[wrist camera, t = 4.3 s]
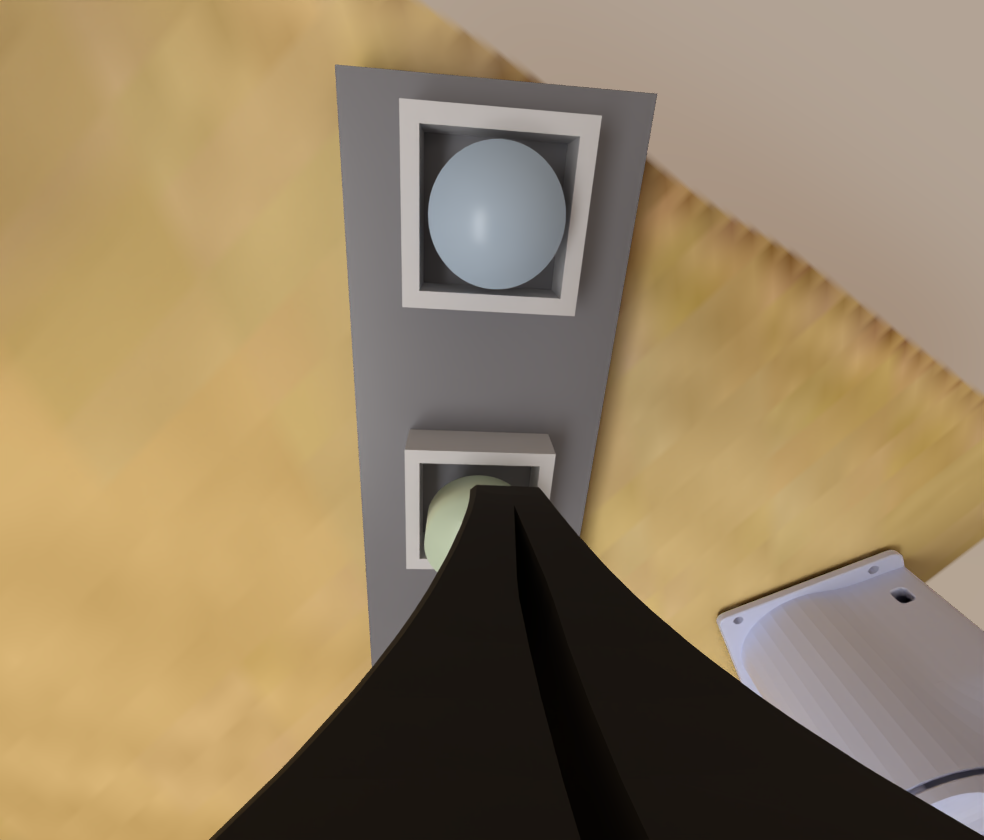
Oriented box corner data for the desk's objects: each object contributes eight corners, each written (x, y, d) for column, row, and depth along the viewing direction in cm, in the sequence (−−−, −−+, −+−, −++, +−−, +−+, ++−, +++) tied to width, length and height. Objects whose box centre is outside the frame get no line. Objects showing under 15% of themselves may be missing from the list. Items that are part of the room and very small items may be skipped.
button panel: (351, 82, 14) (317, 46, 11) (634, 107, 15) (680, 80, 12) (381, 676, 26) (369, 745, 22) (543, 675, 26) (554, 742, 23)
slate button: (432, 140, 13) (428, 133, 11) (563, 151, 13) (575, 144, 12) (431, 277, 14) (427, 285, 13) (548, 284, 14) (557, 293, 13)
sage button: (427, 473, 16) (424, 498, 15) (531, 476, 16) (537, 501, 15) (427, 556, 18) (423, 586, 16) (522, 557, 18) (526, 586, 16)
